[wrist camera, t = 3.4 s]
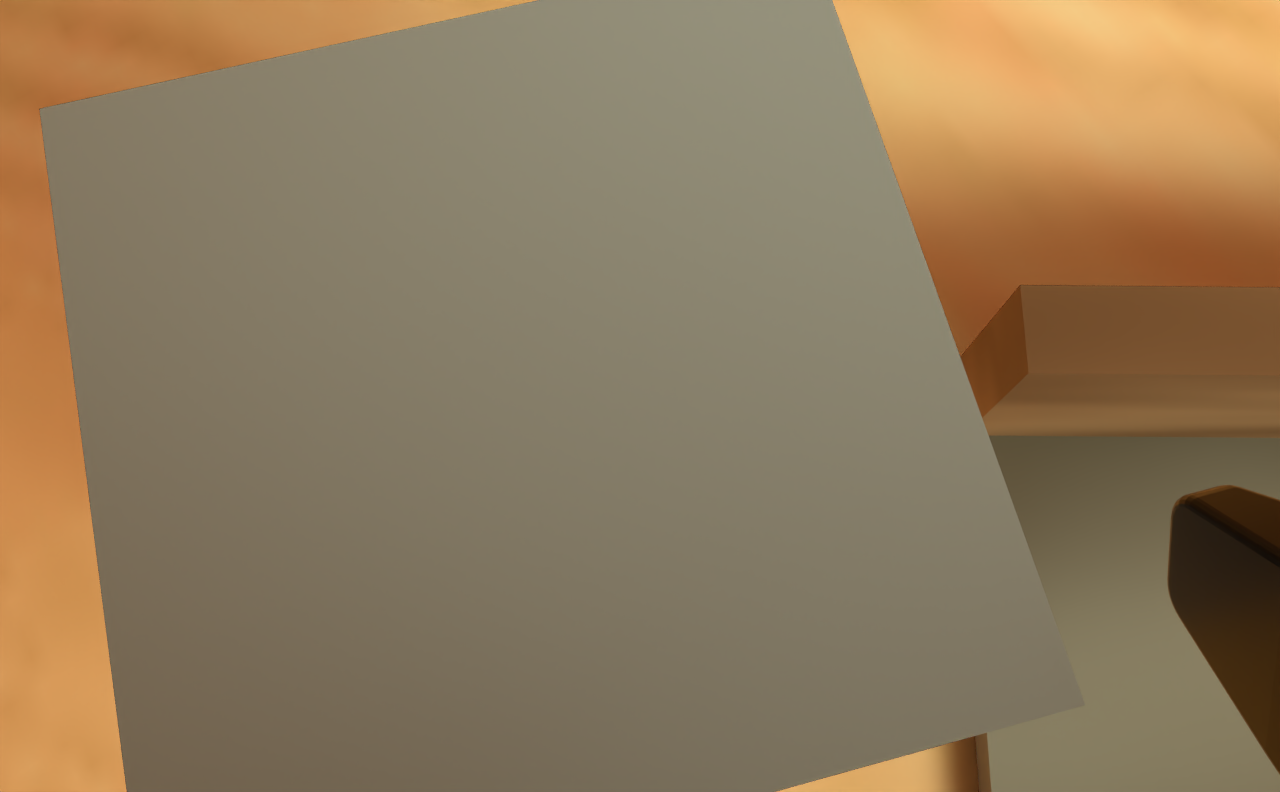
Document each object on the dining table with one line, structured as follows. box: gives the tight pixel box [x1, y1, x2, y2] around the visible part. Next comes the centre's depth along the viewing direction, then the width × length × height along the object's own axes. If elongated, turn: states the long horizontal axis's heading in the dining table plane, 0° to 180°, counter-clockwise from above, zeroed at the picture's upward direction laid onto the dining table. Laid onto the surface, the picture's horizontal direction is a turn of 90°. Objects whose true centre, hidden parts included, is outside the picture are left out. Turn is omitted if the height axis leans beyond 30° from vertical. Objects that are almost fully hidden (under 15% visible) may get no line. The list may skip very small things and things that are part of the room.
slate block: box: [39, 0, 1085, 792], centre depth 11 cm, size 4×4×12 cm
